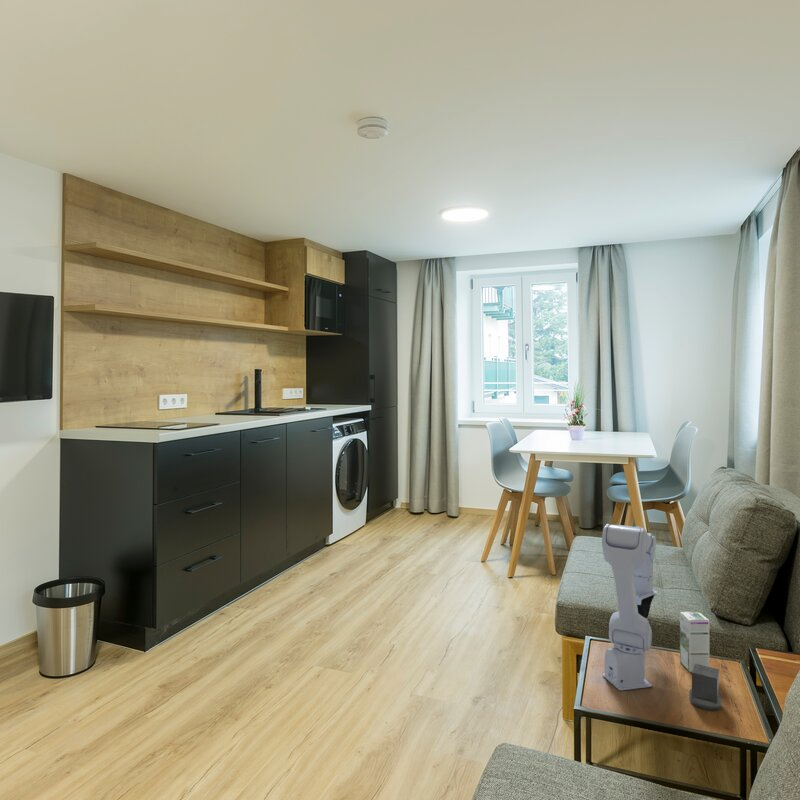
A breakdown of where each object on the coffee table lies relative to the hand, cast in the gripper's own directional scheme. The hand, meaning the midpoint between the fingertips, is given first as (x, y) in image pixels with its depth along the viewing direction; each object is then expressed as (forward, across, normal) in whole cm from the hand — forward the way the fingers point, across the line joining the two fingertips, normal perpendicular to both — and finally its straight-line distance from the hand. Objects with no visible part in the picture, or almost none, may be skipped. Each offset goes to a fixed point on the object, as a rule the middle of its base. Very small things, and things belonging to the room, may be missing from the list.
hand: (641, 621), depth 164 cm
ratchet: (+10, -13, -18) cm, 24 cm away
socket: (+8, -16, -18) cm, 25 cm away
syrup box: (+11, +2, -13) cm, 17 cm away
